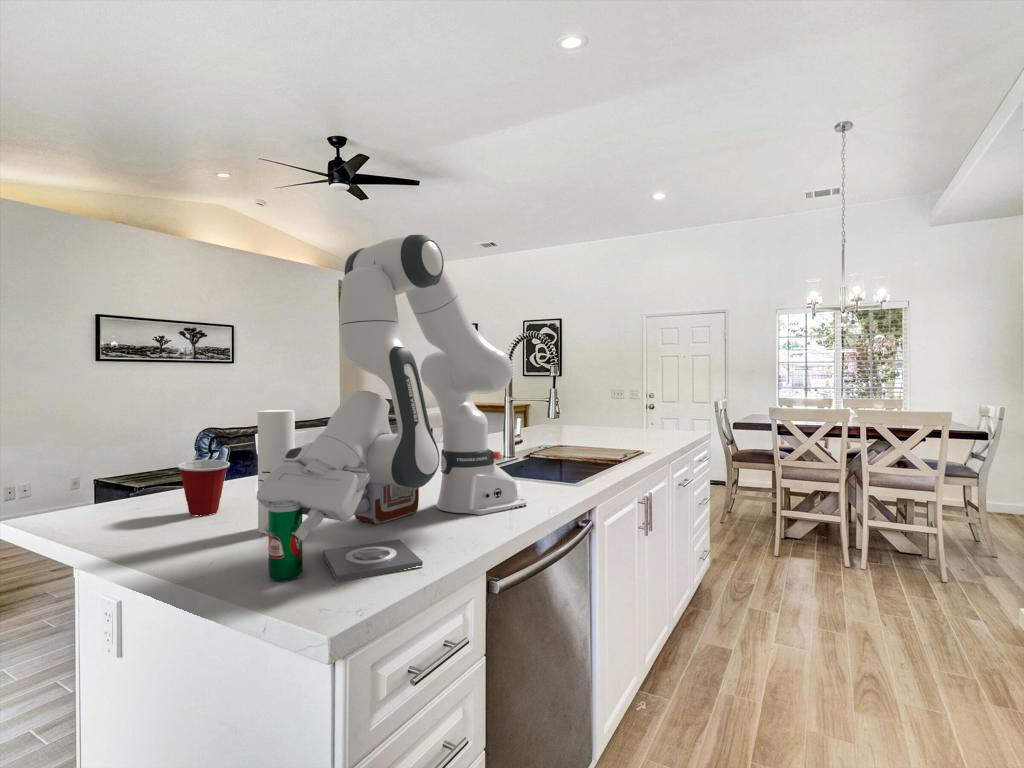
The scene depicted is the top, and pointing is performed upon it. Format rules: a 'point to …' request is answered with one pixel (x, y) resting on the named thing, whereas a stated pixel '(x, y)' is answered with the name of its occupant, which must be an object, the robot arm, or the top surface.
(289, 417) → the cylindrical container
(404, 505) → the cine camera
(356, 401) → the robot arm
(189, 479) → the plastic cup
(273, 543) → the soda can
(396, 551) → the mount plate
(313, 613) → the top surface
